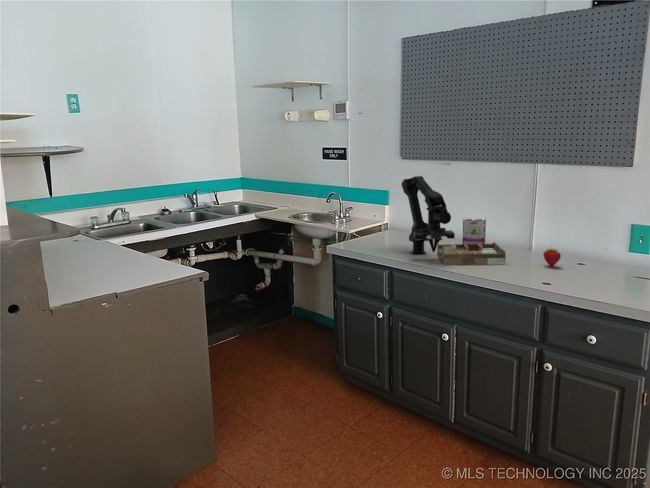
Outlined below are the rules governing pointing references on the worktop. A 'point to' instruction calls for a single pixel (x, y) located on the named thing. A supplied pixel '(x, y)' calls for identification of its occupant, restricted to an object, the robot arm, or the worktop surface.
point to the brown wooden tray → (473, 254)
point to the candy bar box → (474, 230)
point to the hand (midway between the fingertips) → (433, 251)
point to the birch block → (449, 249)
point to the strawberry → (551, 256)
